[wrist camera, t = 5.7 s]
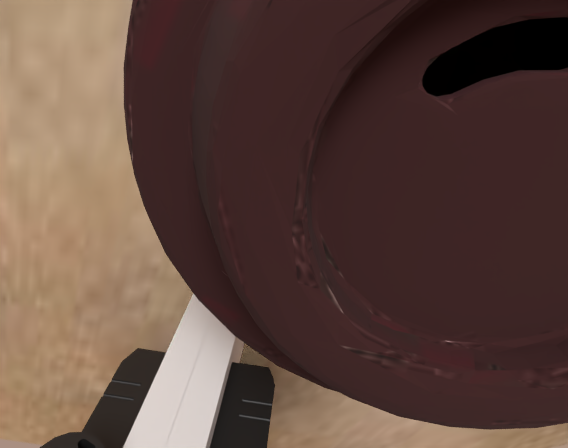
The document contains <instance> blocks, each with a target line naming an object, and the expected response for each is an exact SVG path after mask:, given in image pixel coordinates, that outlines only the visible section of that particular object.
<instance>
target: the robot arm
mask: <svg viewBox="0 0 568 448" xmlns="http://www.w3.org/2000/svg"><path fill="white" fill-rule="evenodd" d="M243 347H244V342H243V341H241V340H240V339H238V338H237V337H235V336H234V335H233V334H232V333H231V332H230V331H229V330H228V329H227V328H226V327H225V326H224V325H223V324H222V323H221V322H220V321H219V320H218V319H217V318H216V317H215V316H214V315H213V314H212V313H211V312H210V311H209V310H208V309H207V308H206V307H205V306H204V305H203V304H202V303H201V302H200V301H199V300H198V299H197V297H196V296H195V295H194V293H193V295H192V297H191V300H190V302H189V304H188V306H187V308H186V311H185V313H184V315H183V317H182V319H181V321H180V324H179V326H178V328H177V330H176V332H175V335H174V337H173V339H172V341H171V343H170V346H169V348H168V350H167V352H166V353H164V352H158V351H152V350H145V349H139V348H138V349H136V350H135V351H134V352H133V353H132V354H130V355H129V356H128V357H127V358H126V359H124V360H123V361H122V362H121V364H120V366H119V367H118V369H117V371H116V373H115V374H114V376H113V378H112V381H111V382H110V383H109V385H108V387H107V389H106V390H105V392H104V395H103V397H101V399H100V401H99V403H98V404H97V406H96V408H95V410H94V411H93V413H92V415H91V417H90V418H89V420H88V422H87V424H86V425H85V427H84V429H83V431H82V432H70V433H67V434H64V435H61V436H58V437H55V438H53V439H52V440H50V441H49V442H47V443H46V444H44V445H43V446H41V447H40V448H267V441H268V433H269V425H270V418H271V410H272V403H273V395H274V388H275V384H274V381H273V378H272V375H271V372H270V369H269V368H267V367H260V366H254V365H248V364H241V363H240V359H241V355H242V351H243Z"/></svg>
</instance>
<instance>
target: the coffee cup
mask: <svg viewBox="0 0 568 448" xmlns="http://www.w3.org/2000/svg"><path fill="white" fill-rule="evenodd" d="M124 110H125V120H126V130H127V140H128V145H129V150H130V155H131V160H132V165H133V170H134V175H135V178H136V181H137V185H138V188H139V191H140V195H141V198H142V201H143V204H144V207H145V209H146V211H147V214H148V216H149V219H150V221H151V223H152V225H153V227H154V229H155V232H156V234H157V236H158V238H159V240H160V242H161V245H162V247H163V249H164V251H165V253H166V254H167V256H168V257H169V259H170V261H171V262H172V264H173V265H174V266H175V268H176V269H177V271H178V272H179V273H180V275H181V276H182V278H183V279H184V280H185V282H186V283H187V285H188V286H189V288H190V289H191V290H192V292H193V293H194V295H195V296H196V297H197V299H198V300H199V301H200V302H201V303H202V304H203V305H204V306H205V307H206V308H207V309H208V310H209V311H210V312H211V313H212V314H213V315H214V316H215V317H216V318H217V319H218V320H219V321H220V322H221V323H222V324H223V325H224V326H225V327H226V328H227V329H228V330H229V331H230V332H231V333H232V334H233V335H234V336H235V337H237V338H238V339H240V340H241V341H243V342H244V343H246V344H247V345H248V346H250V347H251V348H253V349H254V350H256V351H257V352H259V353H260V354H261V355H263V356H264V357H266V358H267V359H269V360H270V361H272V362H273V363H275V364H276V365H277V366H279V367H281V368H284V369H286V370H288V371H290V372H292V373H294V374H296V375H299V376H301V377H303V378H305V379H307V380H309V381H311V382H314V383H316V384H318V385H320V386H322V387H324V388H327V389H331V390H334V391H337V392H340V393H342V394H344V395H346V396H348V397H349V398H352V399H354V400H357V401H360V402H362V403H365V404H368V405H370V406H373V407H375V408H378V409H381V410H383V411H386V412H389V413H391V414H394V415H396V416H399V417H404V418H409V419H414V420H419V421H424V422H429V423H434V424H439V425H444V426H449V427H462V428H476V429H514V428H538V427H544V426H551V425H557V424H563V423H568V0H133V3H132V9H131V15H130V21H129V27H128V35H127V43H126V52H125V61H124Z"/></svg>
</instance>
